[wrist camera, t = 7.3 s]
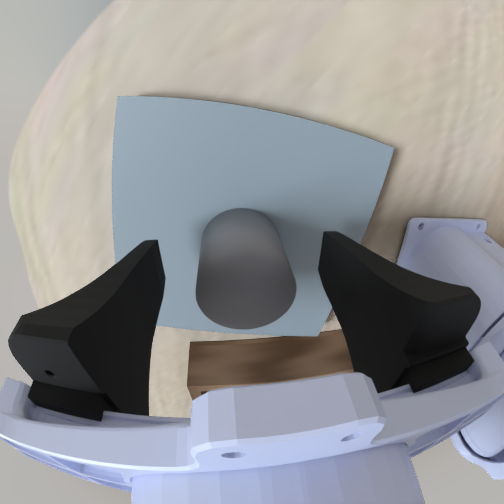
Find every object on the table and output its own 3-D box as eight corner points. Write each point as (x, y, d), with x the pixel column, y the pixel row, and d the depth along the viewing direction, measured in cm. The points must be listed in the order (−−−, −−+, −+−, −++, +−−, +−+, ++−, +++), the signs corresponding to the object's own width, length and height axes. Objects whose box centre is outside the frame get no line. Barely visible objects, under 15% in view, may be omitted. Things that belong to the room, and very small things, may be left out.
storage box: (341, 329, 21) (357, 368, 17) (316, 398, 27) (324, 427, 24) (189, 342, 20) (186, 385, 17) (208, 408, 26) (209, 439, 23)
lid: (377, 141, 13) (444, 171, 9) (311, 318, 20) (333, 381, 15) (130, 95, 11) (74, 99, 6) (129, 302, 18) (108, 369, 13)
